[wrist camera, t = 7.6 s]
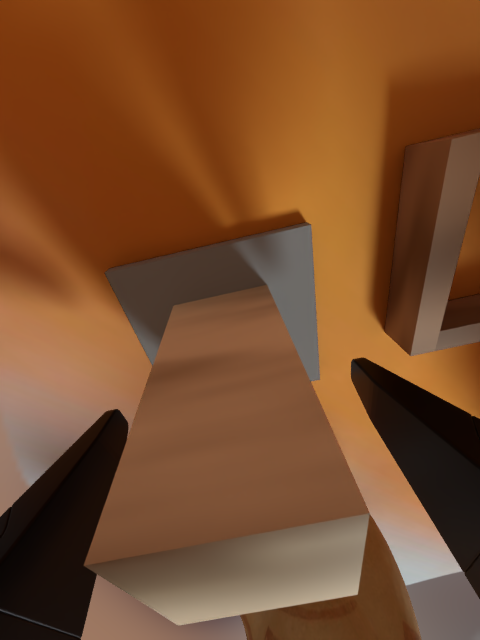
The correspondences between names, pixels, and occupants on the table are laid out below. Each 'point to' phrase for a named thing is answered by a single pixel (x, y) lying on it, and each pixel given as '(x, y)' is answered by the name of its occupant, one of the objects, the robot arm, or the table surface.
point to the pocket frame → (433, 246)
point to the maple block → (230, 475)
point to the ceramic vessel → (348, 606)
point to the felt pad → (226, 285)
